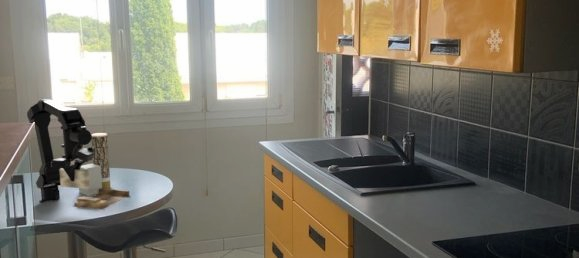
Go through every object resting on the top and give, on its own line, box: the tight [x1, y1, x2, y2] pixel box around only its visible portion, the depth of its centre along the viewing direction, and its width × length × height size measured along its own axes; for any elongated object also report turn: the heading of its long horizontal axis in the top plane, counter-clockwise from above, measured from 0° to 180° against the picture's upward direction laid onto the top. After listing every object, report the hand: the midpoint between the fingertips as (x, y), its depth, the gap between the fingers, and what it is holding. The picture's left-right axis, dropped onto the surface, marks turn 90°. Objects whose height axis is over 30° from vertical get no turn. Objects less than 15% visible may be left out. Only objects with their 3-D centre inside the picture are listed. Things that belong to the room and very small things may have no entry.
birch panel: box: [59, 168, 90, 189], centre depth 232 cm, size 12×2×7 cm, turn 74°
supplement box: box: [78, 163, 102, 197], centre depth 256 cm, size 7×7×13 cm
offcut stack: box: [73, 195, 109, 209], centre depth 238 cm, size 13×4×3 cm, turn 73°
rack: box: [72, 188, 130, 210], centre depth 245 cm, size 14×19×3 cm
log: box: [91, 132, 111, 189], centre depth 262 cm, size 7×7×25 cm
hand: (74, 180), depth 232 cm, fingers closed on birch panel, 2 cm apart
